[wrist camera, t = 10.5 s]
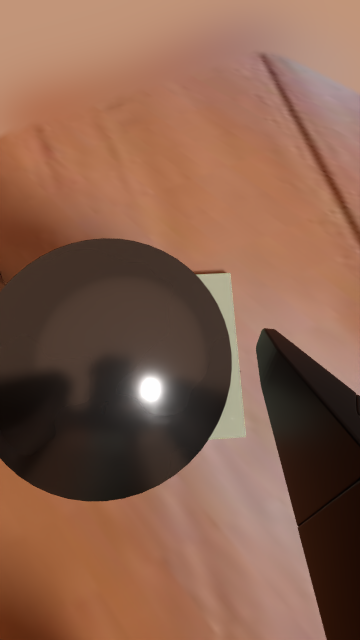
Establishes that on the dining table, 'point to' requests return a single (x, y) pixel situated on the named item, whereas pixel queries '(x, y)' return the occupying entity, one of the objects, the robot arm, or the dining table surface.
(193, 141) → the dining table surface
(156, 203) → the dining table surface
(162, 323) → the canister
